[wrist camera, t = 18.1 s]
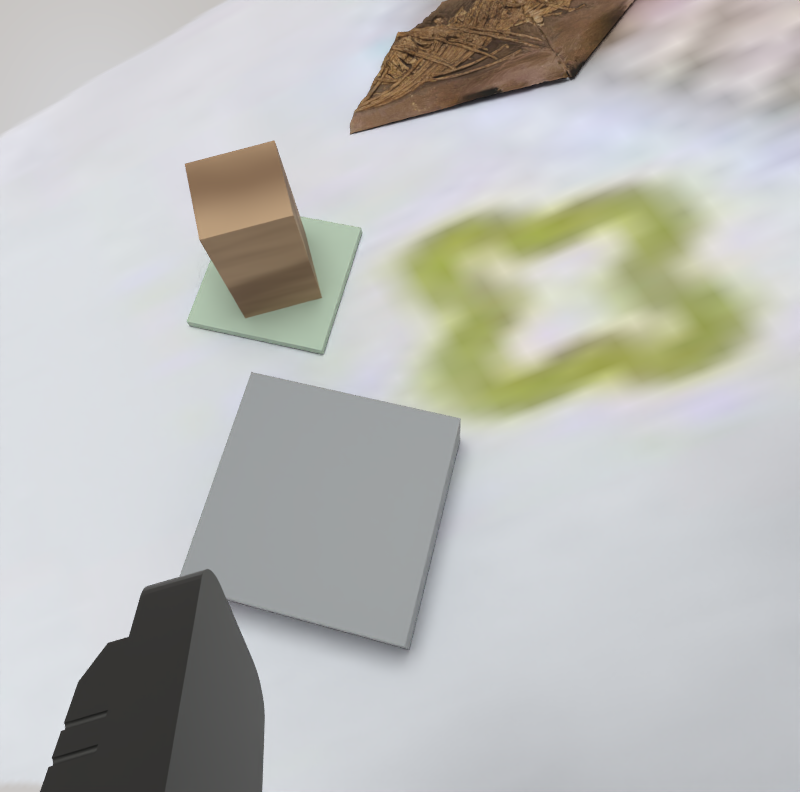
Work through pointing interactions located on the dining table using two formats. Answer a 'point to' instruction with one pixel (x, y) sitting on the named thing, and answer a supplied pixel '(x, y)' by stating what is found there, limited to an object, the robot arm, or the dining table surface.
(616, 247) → the dining table surface
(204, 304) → the mat
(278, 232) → the walnut block
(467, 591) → the dining table surface
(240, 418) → the gray square slab
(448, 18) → the wooden fragment
